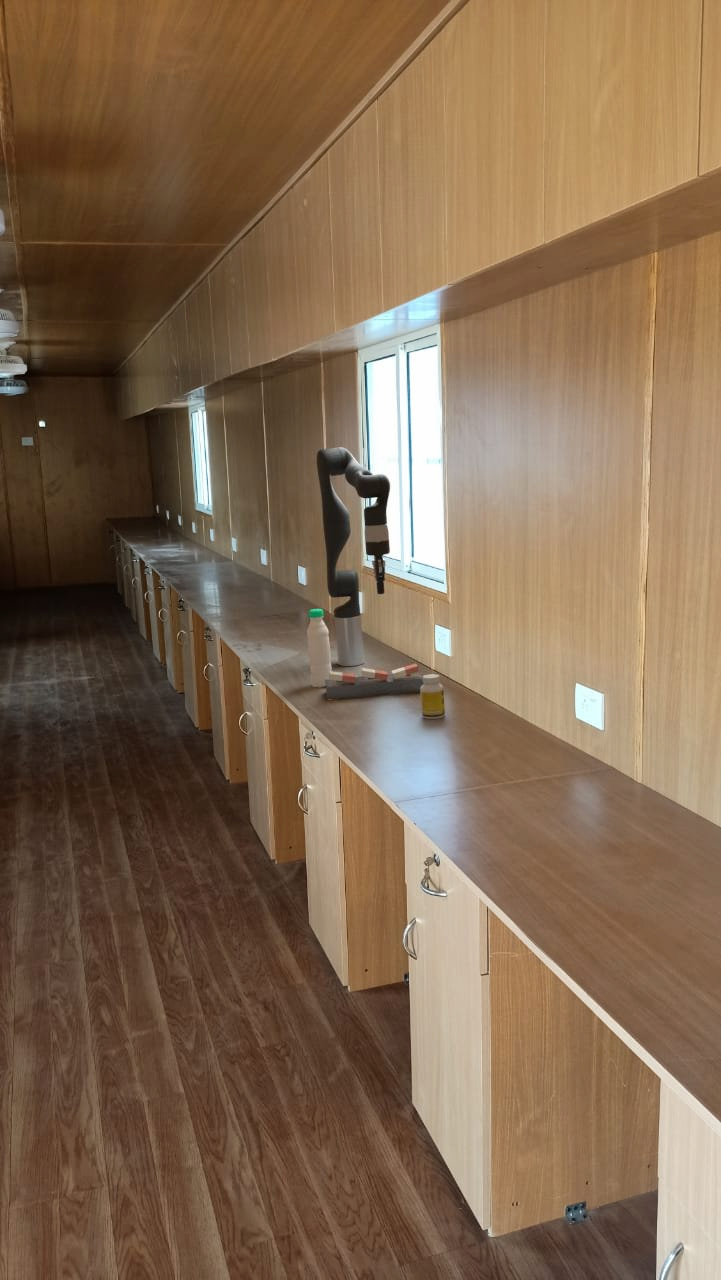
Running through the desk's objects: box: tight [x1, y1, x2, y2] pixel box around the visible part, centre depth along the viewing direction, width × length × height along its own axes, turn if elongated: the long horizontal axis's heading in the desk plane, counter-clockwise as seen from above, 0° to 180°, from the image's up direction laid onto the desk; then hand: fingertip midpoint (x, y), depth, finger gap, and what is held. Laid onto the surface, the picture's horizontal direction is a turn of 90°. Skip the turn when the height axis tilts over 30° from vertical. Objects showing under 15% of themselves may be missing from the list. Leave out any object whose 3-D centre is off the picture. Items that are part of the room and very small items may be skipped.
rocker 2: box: [360, 667, 388, 680], centre depth 304 cm, size 4×8×2 cm, turn 94°
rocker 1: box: [329, 670, 356, 683], centre depth 304 cm, size 4×8×2 cm, turn 94°
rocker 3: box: [391, 663, 420, 679], centre depth 305 cm, size 4×8×2 cm, turn 94°
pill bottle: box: [419, 673, 446, 720], centre depth 274 cm, size 6×6×12 cm
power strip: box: [325, 670, 424, 701], centre depth 307 cm, size 10×30×4 cm, turn 94°
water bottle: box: [306, 608, 333, 688], centre depth 318 cm, size 7×7×25 cm
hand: (380, 593), depth 312 cm, fingers closed
